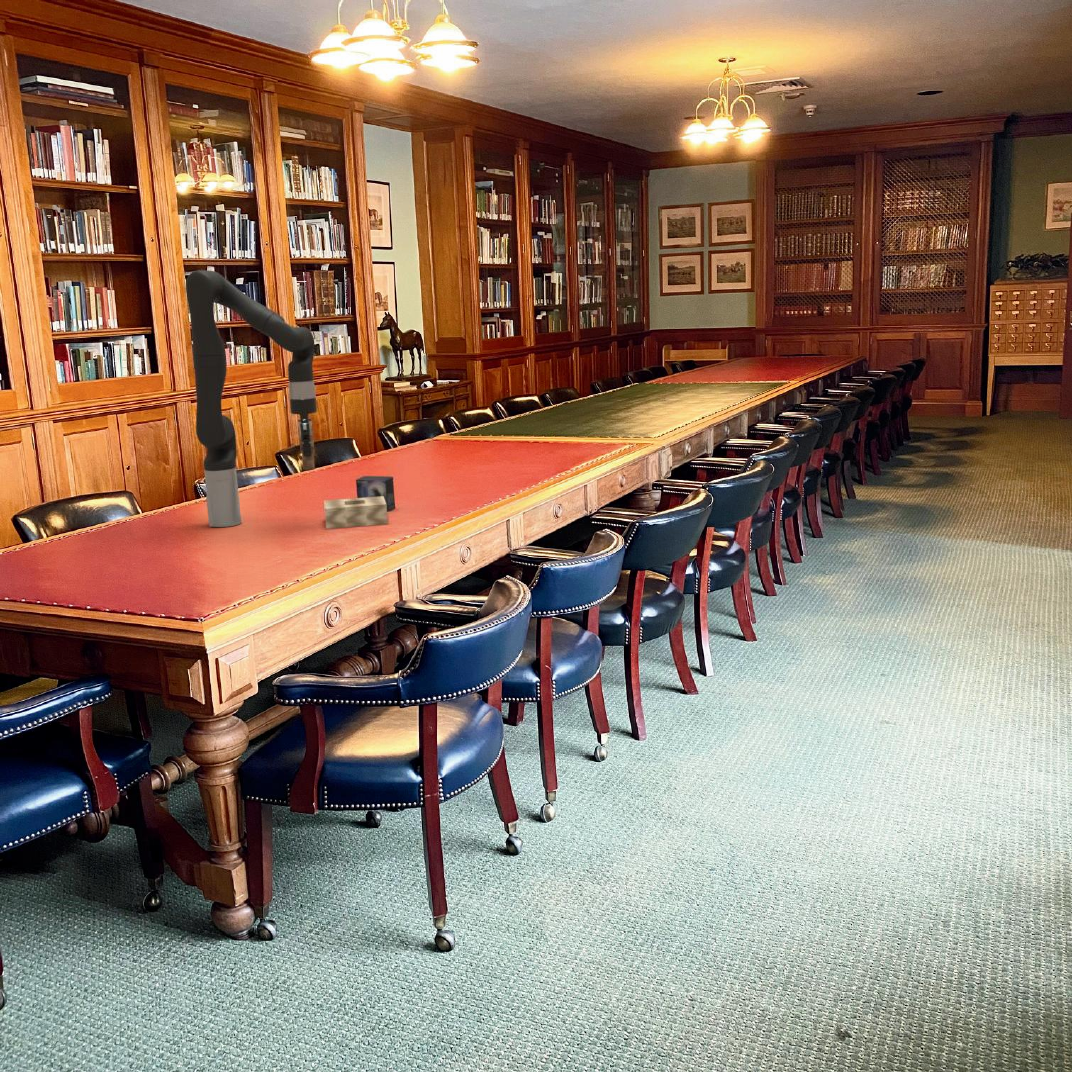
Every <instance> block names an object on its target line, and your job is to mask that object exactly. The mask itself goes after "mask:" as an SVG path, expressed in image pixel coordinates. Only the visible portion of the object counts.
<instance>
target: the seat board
mask: <svg viewBox="0 0 1072 1072" xmlns="http://www.w3.org/2000/svg"><path fill="white" fill-rule="evenodd" d="M323 504H324V506H323V507H324V509H323V510H324V520H325V529H326V530H330V529H342V528H343V529H344V528H354V527H367V526H381V525H382V526H383V525H388V524H389V523H388V512H387V506H386V502H385V499H384V496H380V497H366V498H357V497H356V498H343V499H330V500H327V499H326V500H323Z"/></svg>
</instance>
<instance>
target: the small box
mask: <svg viewBox="0 0 1072 1072" xmlns="http://www.w3.org/2000/svg"><path fill="white" fill-rule="evenodd" d="M355 484H356V486H355V487H356V498H366V497H380V496H384V499H385V502H386V506H387V513H388V512H391V511H393V510H395V509H396V502H395V500H396V499H395V486H394V476H388V475H387V476H386V475H383V476H382V475H375V476H374V475H364V476H363V475H362V476H361V477H358V478H356V479H355Z"/></svg>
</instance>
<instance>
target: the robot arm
mask: <svg viewBox="0 0 1072 1072" xmlns="http://www.w3.org/2000/svg"><path fill="white" fill-rule="evenodd" d="M185 292H186V299H187V305H188V311H189V316H190V324H191V338H192V355H193V356H192V357H193V369H194V370H193V371H194V380H195V381H194V383H195V395H196V416H195V417H196V420H195V421H196V422H195V433H196V437H197V440H198V442H199V443H200V445H203V447H205V448H206V456H205V458H204V460H203V471H204V479H205V480H204V481H205V482H204V483H205V488H206V489H205V491H206V496H205V498H206V507H207V508H206V509H207V517H208V527H209V528H226V527H234V526H238V525H241V524H242V515H241V507H240V505H241V503H240V496H239V485H238V477H237V476H238V475H237V466H236V460H237V455H238V453H237V452H238V451H237V436H236V429H235V425H234V423H233V421H232V420H231V419H230V417H228V416H226V415H224V414H223V411H222V395H223V390H224V388H225V382H226V377H227V372H228V371H227V353H226V352H227V351H226V347H225V344H224V342H223V339H222V336H221V334H220V332H219V330H218V327H217V325H216V321H215V320H216V319H215V314H214V313H215V312H214V304H218V305H221V306H223V307H225V308H227V309H229V310H231V311H233V312H234V313H236V314H237V315H239V317H240V318H242V320H243V321H244V322H245V323H246V324H248V326H250V327H252V328H253V329H255V330H256V331H259V333H261V334H263V335H265V336H267V337H269V338H270V339H271V341H273V342H275V344H277V345H278V346H279V347H281V348H282V349H284V350H285V351H288V352H290V353H292V358H291V361H290V362H289V363H288V364H287V373H288V375H287V376H288V395H289V407H290V413H291V414H292V415H299V417H300V419H297V425H298V428H299V429H298V433H299V432H300V436H301V438H302V440H301V441H302V444H303V453H304V456H305V457H308V456H311V445H310V443H311V439H310V436H311V435H312V431H311V428H312V425H313V421H312V418H309V417H310V416H309V414H315V413H317V412H318V411H317V410H318V406H317V397H316V395H317V393H316V386H315V382H314V371H313V370H314V369H313V363H314V362H313V361H314V355H315V354H314V353H315V338H314V336H313V333H312V331H311V330H310V329H309V328H307V327H304V326H297V327H294V326H292V325H291V324H288V323H287V322H286V320H285V319H284V317H282V315H280V314H278V313H277V312H275V311H274V310H272V309H270V308H268V307H267V306H265V305H263V304H261V303H260V302H258V301H256V300H254V299H253V298H251V297H249V296H248V295H247V294H245V293H244V292H243V291H241V290H240V289H238V288H237V287H236V286H235V285H234V284H232V283H231V281H229V280H228V279H227V278H226V277H224V276H223V275H222V274H220V273H219V272H217V271H214V270H205V269H204V270H203V269H197V270H193V271H192V272H190V274H189V275H188V276H187V278H186V282H185ZM309 429H310V431H309ZM303 436H308V438H303Z"/></svg>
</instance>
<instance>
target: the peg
mask: <svg viewBox="0 0 1072 1072" xmlns="http://www.w3.org/2000/svg"><path fill="white" fill-rule="evenodd" d="M309 431H310V429H309ZM311 431H312V435H311V436H310V439H311V443H310V445H311V456H308V457H305V456H304V453H303V444H302V441H301V440H302V438H301V436H300V432H299V431H298V438H299V450H300V453H301V459H302V461H301V462H302V471H314V470H315V469H316V465H315V454H314V452H315V448H316V447H315V442H314V432H313V428H312V427H311ZM303 438H308V436H303Z"/></svg>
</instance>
